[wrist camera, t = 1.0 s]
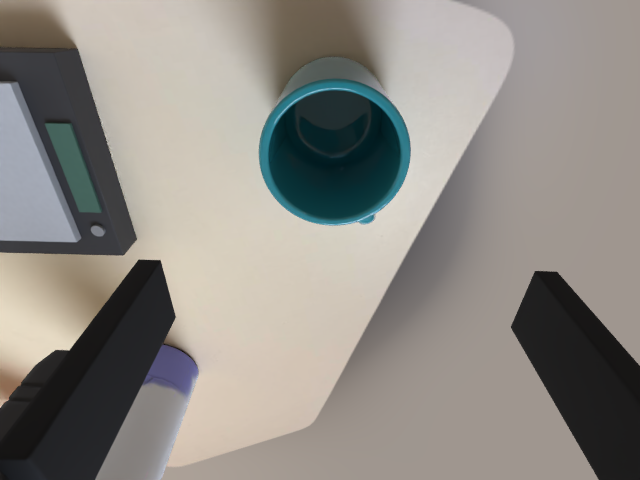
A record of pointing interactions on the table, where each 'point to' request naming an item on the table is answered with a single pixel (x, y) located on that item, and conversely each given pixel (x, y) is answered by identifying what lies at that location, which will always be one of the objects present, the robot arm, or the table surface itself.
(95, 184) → the scale
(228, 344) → the table surface
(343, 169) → the cup
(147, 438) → the container
